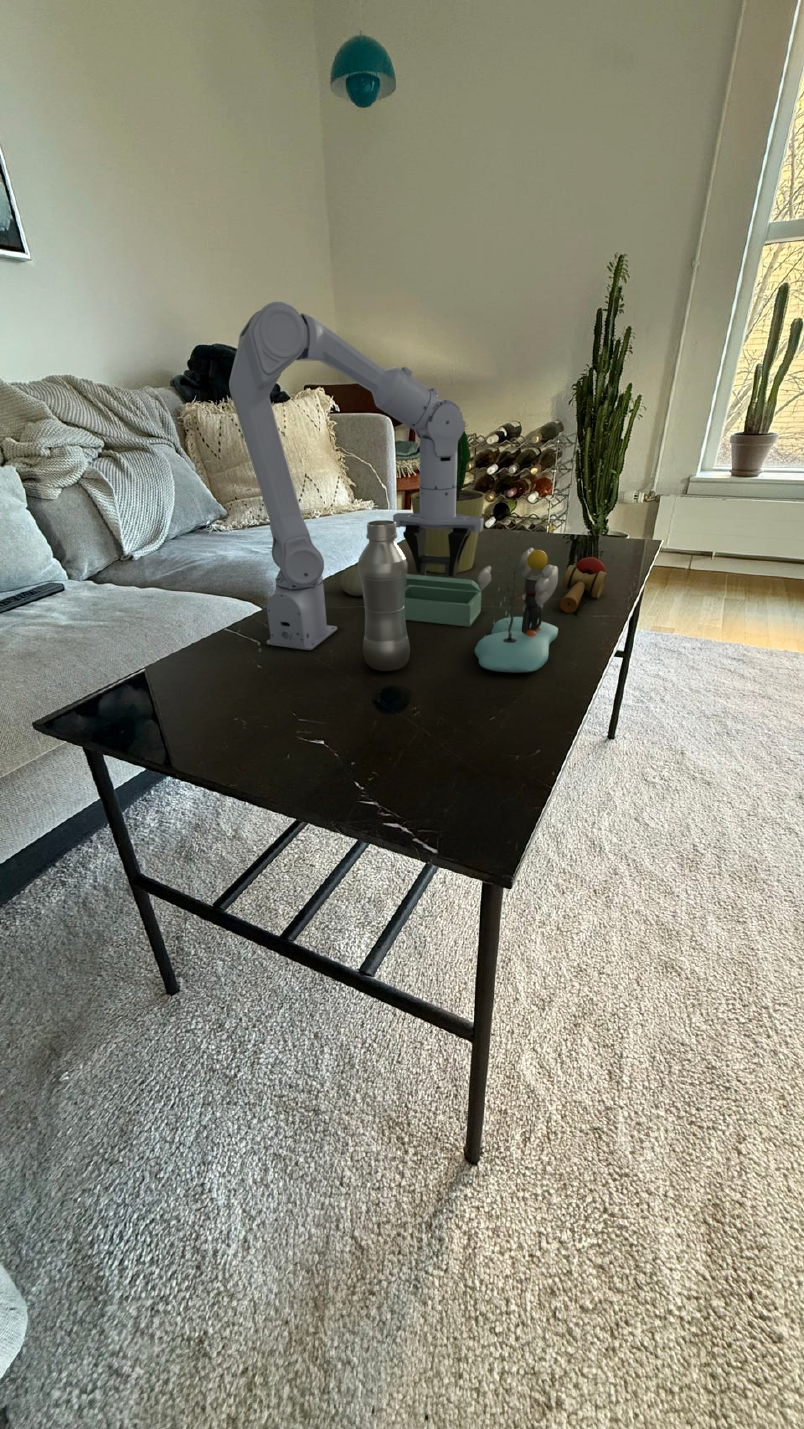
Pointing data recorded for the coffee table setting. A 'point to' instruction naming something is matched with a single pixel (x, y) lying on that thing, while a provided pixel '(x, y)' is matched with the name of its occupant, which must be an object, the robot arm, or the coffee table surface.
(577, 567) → the kendama
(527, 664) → the figurine on blue base
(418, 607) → the teal open box
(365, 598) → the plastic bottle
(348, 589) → the sea urchin shell
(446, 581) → the lid
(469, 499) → the potted cactus
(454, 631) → the coffee table surface
